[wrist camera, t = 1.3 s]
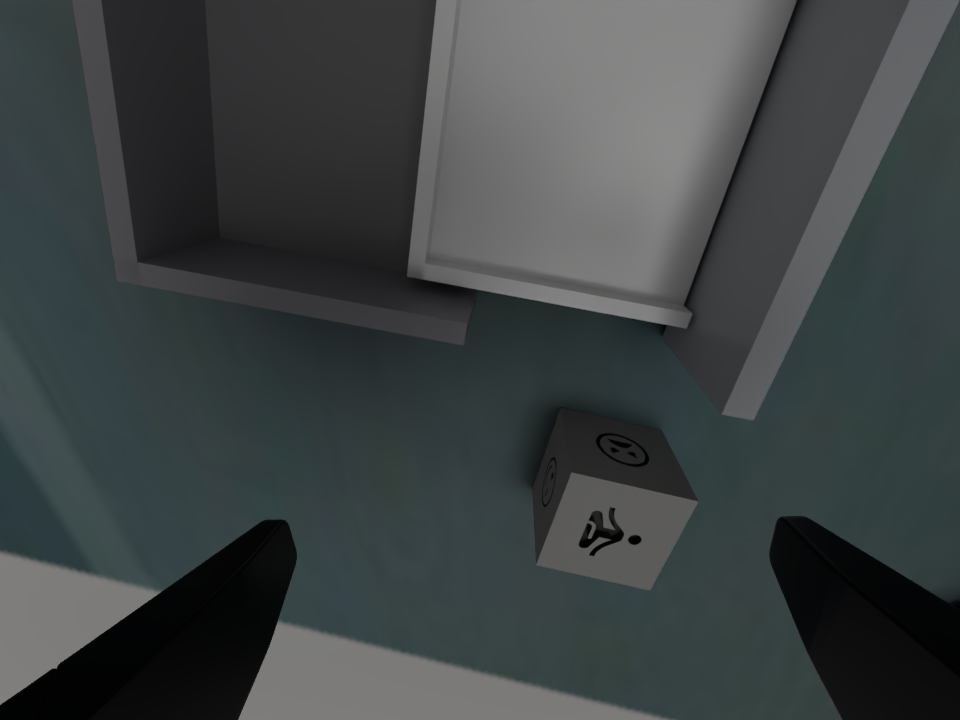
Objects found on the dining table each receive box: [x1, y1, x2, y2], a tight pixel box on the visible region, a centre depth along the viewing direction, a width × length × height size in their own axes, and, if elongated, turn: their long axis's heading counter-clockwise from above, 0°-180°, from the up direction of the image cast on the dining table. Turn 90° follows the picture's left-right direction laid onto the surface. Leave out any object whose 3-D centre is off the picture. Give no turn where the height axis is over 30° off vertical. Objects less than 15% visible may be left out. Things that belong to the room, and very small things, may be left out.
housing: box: [72, 0, 477, 346], centre depth 15 cm, size 12×14×5 cm
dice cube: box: [532, 407, 698, 590], centre depth 21 cm, size 5×5×5 cm
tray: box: [407, 0, 960, 420], centre depth 14 cm, size 12×14×6 cm
